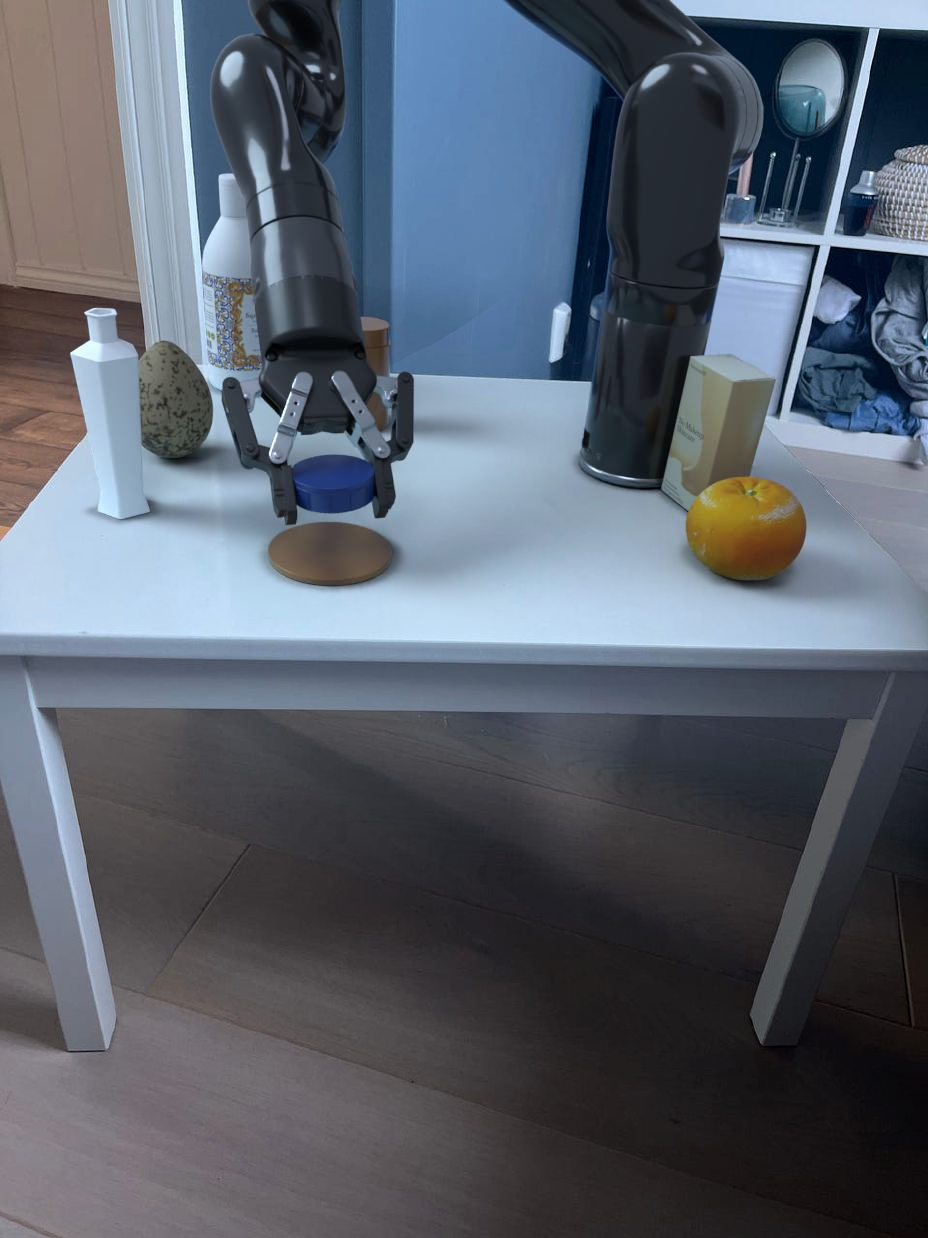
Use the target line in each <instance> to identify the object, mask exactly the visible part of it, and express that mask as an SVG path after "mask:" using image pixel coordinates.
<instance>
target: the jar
mask: <svg viewBox="0 0 928 1238" xmlns="http://www.w3.org/2000/svg"><path fill="white" fill-rule="evenodd" d="M361 323H362V329H363V336H364V342H365V349H366V356H367V360H368V363H369V364H370V366H371V367H372V369H373V370H374V371H375V373H376V375H379V376H387V377H391V367H392V365H391V363H392V362H391V361H392V341H391V339H390V334H391V333H390V329H391V328H390V327H391V325H390V323H389V322H388V321H386V320H384V319H381V318H377V317H371V316H361ZM366 407H367V408H368V410H369V411H370V413H371V414H372V416H373V417H374V419H375V421H376V426H377V428H378V430H379V431H382V430H384V429H386V428H387V427H388V426H389V420H390V419H389V418H390V408H387V407H386V406H385V405H384V404H383V400H382V397H381V396H380V395H379V394H378V393H376V392H373V394H372V396H371V398H370V399H369V401H368V403H367V404H366Z"/></svg>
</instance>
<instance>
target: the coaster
mask: <svg viewBox="0 0 928 1238" xmlns="http://www.w3.org/2000/svg"><path fill="white" fill-rule="evenodd" d="M267 557H268V561H269V563H270V565H271V566H272V568H274V569H275V570H276V571H277V572H279V573H280V574H281V575H283V576H285V577H287V578H289V579H291V580H294V581H296V582H301V583H306V584H309V585H316V586H346V585H353V584H359V583H361V582H365V581H368V580H371V579H374V578H376V577H377V576H379V575H381V574H382V573H384V572H385V571H386V570H387V569H388V568H389V566H390V565H391V562H392V559H393V548H392V545H391V543H390V542H389V541H388V539H387V538H386V537H384V536H383V535H382V534H381V533H379V532H378V531H375V530H374V529H371V528H368V527H365V526H362V525H359V524H355V523H349V522H341V521H318V522H308V523H303V524H300V525H294V526H292V527H290V528H287V529H284V530H283V531H281V532H280V533H278V534H277V535H276V536H274V537H273V538H272V540H271V541H270V542H269V544H268V549H267Z"/></svg>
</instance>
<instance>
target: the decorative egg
mask: <svg viewBox="0 0 928 1238" xmlns="http://www.w3.org/2000/svg"><path fill="white" fill-rule="evenodd" d="M138 364H139V391H140V417H141V444H142V447H143V448H144V449H145V450H147V451H148V452H150V453H151V454H153V455H156V456H158V457H161V458H165V459H178V458H184V457H186V456H189V455H190V454H193V453H194V452H195V451H197V450H198V449H199V448H200V447H201V446H202V445H203V444H204V442H205V441H206V440H207V438H208V436H209V434H210V432H211V429H212V425H213V420H214V402H213V397H212V393H211V390H210V386H209V384H208V382H207V380H206V378H205V376H204V375H203V373H202V371H201V370H200V368H199V367H198V365H197V364H196V363H195V361H194V360H193V359H192V358H191V357H190V356H189V355H188V354H187V353H186V352H185V351H184V350H183V349H182V348H181V347H179V345H177V344H176V343H175V342H172V341H169V340H159V341H157V342H155V343H154V344H152V345H151V346H149V347H148V349H147V350H146V351H145V352H144V353H143V354H142V356H140V359H139V358H138Z"/></svg>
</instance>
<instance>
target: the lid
mask: <svg viewBox="0 0 928 1238" xmlns="http://www.w3.org/2000/svg"><path fill="white" fill-rule="evenodd" d="M292 473H293V481H294V488H295V496H296V504H297V507H299V508H301V509H303V510H305V511H308V512H313V513H317V514H318V513H319V514H327V515H328V514H330V515H331V514H333V515H334V514H343V513H344V514H345V513H349V512H354V511H357V510H360V509H362V508H365V507H367V506H368V505H369V504H371V503H372V500H373V499H374V496H375V478H374V469H373V467H372V465H371V464H370V463H369V462H367V461H365V459H364V458H360V457H358V456H354V455H347V454H321V455H315V456H310V457H308V458H307V457H306V458H304V459H302V460H300V461H297V462H296V463H295V464H294V465H293V466H292Z"/></svg>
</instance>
